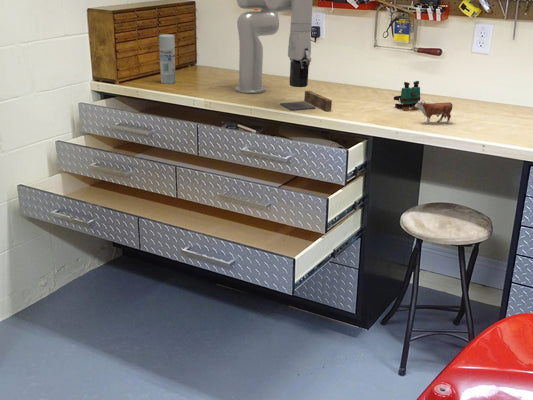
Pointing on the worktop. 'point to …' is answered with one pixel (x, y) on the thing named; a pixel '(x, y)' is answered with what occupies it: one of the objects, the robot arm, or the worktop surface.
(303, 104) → the pad
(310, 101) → the walnut rail
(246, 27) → the robot arm
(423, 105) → the bull figurine
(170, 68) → the spray paint can
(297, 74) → the supplement bottle
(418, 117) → the worktop surface
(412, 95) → the binoculars
